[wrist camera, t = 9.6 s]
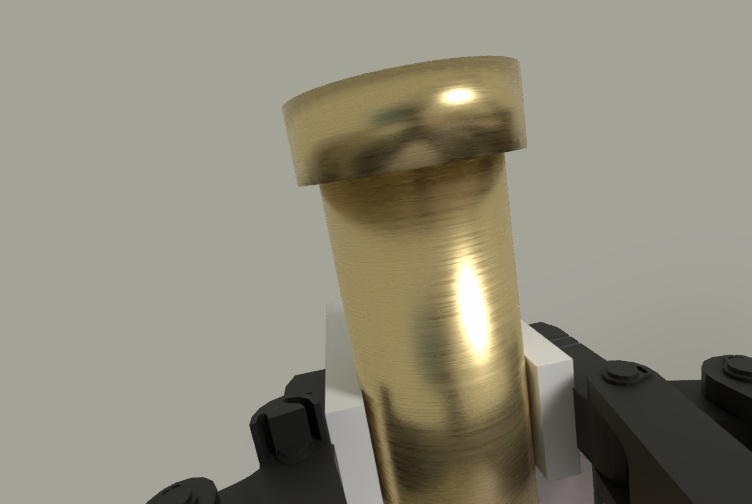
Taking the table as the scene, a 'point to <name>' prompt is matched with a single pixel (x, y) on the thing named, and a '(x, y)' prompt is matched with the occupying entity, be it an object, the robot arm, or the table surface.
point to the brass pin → (428, 269)
